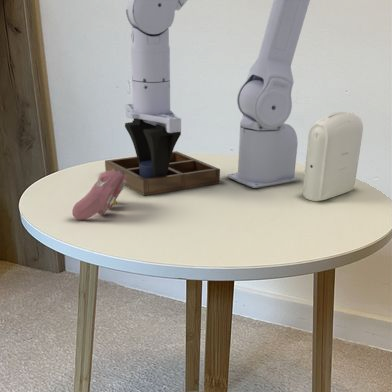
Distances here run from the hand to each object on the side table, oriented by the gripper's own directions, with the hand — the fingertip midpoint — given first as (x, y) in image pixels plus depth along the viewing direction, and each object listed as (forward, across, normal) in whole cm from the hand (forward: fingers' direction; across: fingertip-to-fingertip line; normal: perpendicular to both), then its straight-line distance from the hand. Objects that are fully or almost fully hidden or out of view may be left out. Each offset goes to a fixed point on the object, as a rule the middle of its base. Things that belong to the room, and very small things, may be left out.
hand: (153, 170), depth 98 cm
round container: (+1, 0, 0) cm, 1 cm away
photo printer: (+3, +18, +22) cm, 29 cm away
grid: (+3, -3, +3) cm, 5 cm away
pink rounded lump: (+3, +8, -13) cm, 15 cm away
